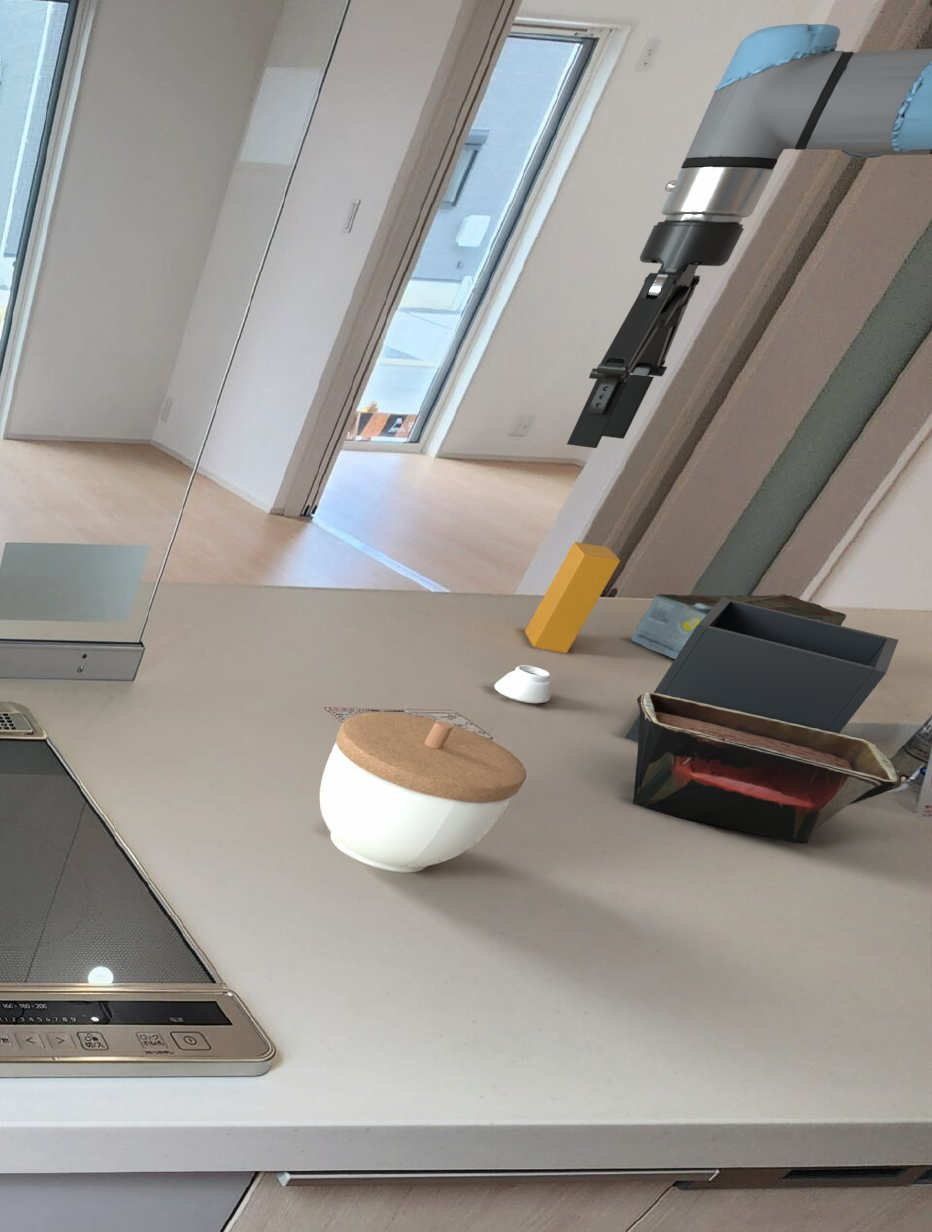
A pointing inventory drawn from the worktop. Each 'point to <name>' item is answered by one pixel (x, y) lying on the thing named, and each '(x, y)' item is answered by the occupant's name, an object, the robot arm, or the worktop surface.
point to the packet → (571, 596)
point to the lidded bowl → (413, 790)
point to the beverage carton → (682, 613)
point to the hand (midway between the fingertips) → (595, 441)
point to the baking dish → (750, 769)
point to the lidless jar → (526, 685)
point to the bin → (777, 666)
